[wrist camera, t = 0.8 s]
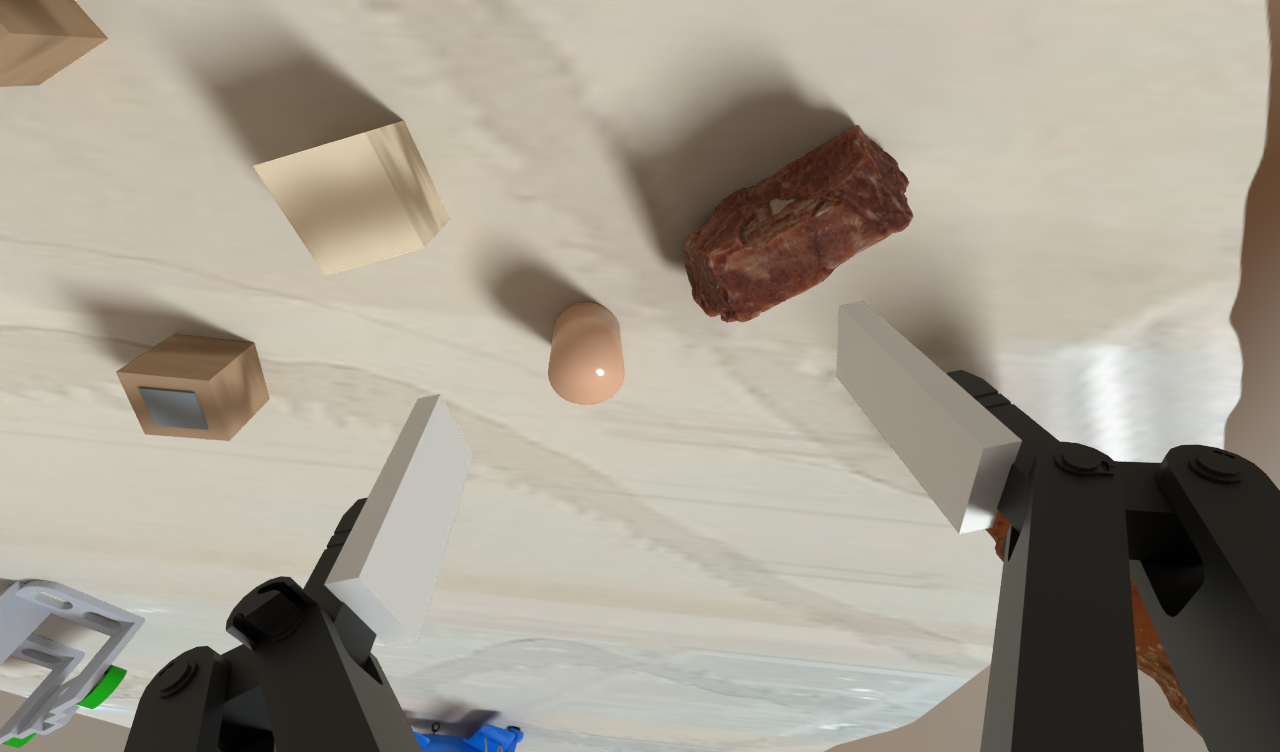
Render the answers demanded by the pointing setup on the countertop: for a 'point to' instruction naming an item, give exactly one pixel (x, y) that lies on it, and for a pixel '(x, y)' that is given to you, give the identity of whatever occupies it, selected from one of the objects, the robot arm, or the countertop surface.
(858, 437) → the countertop surface
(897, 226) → the rock
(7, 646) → the bracket
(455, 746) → the airplane toy
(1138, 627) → the sculpture
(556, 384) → the peach rounded cylinder
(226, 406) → the walnut block
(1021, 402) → the countertop surface
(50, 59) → the walnut block
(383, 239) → the maple block
